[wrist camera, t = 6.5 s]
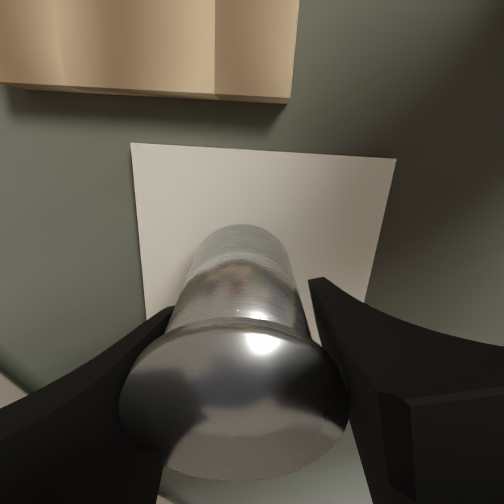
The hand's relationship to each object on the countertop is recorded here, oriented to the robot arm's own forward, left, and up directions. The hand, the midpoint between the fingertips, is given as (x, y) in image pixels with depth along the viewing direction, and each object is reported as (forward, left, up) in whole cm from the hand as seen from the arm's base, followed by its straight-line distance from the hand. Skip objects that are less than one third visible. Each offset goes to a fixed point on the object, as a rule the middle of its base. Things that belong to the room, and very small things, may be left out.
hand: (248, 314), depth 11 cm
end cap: (0, -1, -2) cm, 3 cm away
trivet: (0, 0, -4) cm, 4 cm away
